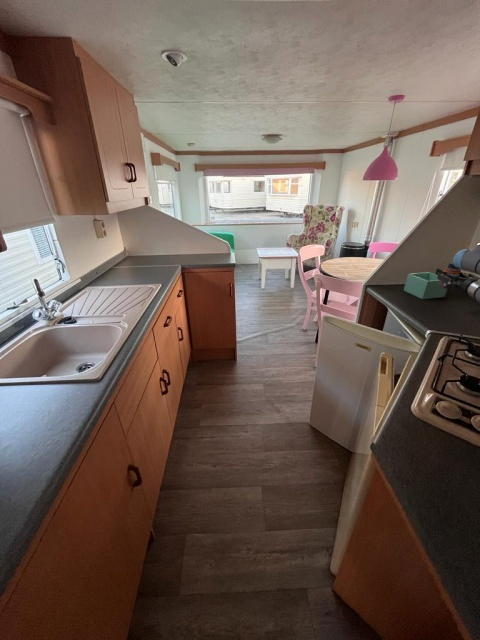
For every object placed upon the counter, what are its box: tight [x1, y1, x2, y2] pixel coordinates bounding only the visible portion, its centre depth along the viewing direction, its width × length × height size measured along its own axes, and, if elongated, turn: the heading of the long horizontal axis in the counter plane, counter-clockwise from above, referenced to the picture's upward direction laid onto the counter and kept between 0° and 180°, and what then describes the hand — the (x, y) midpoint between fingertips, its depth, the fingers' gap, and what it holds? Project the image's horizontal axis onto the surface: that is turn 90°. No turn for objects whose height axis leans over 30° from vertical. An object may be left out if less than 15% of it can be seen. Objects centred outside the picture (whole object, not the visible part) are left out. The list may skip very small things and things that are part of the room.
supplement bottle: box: [439, 261, 462, 290], centre depth 120 cm, size 6×6×11 cm
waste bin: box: [403, 271, 448, 300], centre depth 144 cm, size 14×14×10 cm
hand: (444, 271), depth 124 cm, fingers closed on supplement bottle, 6 cm apart
